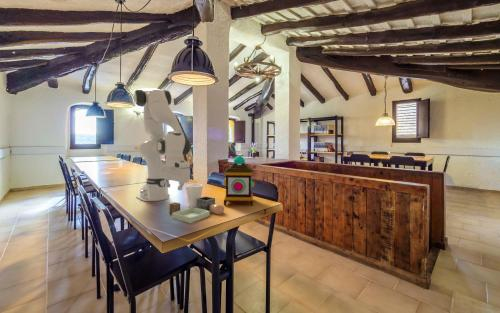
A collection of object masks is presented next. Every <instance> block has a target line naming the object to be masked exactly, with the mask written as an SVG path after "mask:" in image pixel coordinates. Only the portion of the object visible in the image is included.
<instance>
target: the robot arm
mask: <svg viewBox="0 0 500 313" xmlns="http://www.w3.org/2000/svg"><path fill="white" fill-rule="evenodd" d="M172 99H173V98H172V94H171V91H169V90H167V89H159V88H139V89H136V90H135V91H134V93H133V101H134V102H135V104H136V105H137V107H143V123H144V131H145V133H146V134H147V136H148V137H149V138H150V140H146V141H143V142H141V143H140V144H139V147H138V152H139V154H140V155H141V156H142V157H143V159H144V161H145V163H146V167H147V178H146V182H145V184H144V185H143V186H142V187H141V188H140V191H139V192H140V194H138V195H136V198H137V199H139V200H141V201H143V202H158V201H165V200H167V199H169V198H170V194H169V189H170V188H171V183H170V181H172V182H173V181H174V182H178V184H179V186H177V191H183V186H184V184H186V183H189V182H190V180H191V169H190V167H191V163H190V162H188V160H185V159H184V156H187V155H188V154H189V153H190V152H191V150H192V143H191V141H190V139H189V138H188V135H187V134H186V132H185V130H184V128H183V126H182V123H181V121H180V118H179V117H178V116H177V114H175V113H174V112H173V111H172V109H171V108H170V105H171V104H172ZM163 124H165V125H167V126H169V127H171V129H172V130H173V131H172V130H171V131H168V132H166V135H165V132H164V125H163ZM162 157H165V160H162Z"/></svg>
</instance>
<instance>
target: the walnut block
mask: <svg viewBox="0 0 500 313" xmlns="http://www.w3.org/2000/svg"><path fill="white" fill-rule="evenodd" d="M168 209H169V210H168V211H169V212H168V214H169V215H172V213H174V212H177V211H181V203H180V202H175V201H174V202H172V203H169V205H168Z"/></svg>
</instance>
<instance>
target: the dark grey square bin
mask: <svg viewBox="0 0 500 313" xmlns="http://www.w3.org/2000/svg"><path fill="white" fill-rule="evenodd" d="M212 204H216V198H215V197H210V196H203V197H202V196H201V198H198V199H197V207H196V208H198V209H202V210H207V211H210V210H209V209H210V206H211V205H212Z"/></svg>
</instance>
